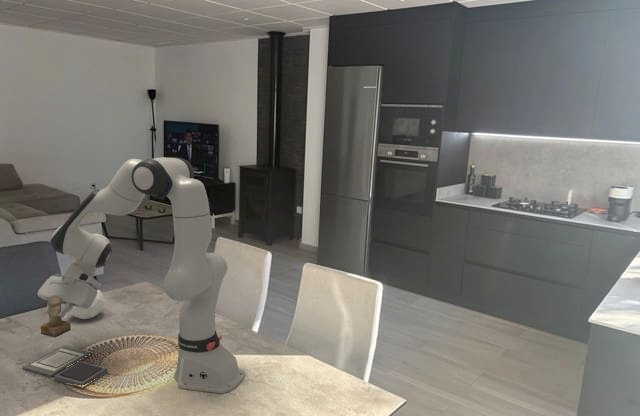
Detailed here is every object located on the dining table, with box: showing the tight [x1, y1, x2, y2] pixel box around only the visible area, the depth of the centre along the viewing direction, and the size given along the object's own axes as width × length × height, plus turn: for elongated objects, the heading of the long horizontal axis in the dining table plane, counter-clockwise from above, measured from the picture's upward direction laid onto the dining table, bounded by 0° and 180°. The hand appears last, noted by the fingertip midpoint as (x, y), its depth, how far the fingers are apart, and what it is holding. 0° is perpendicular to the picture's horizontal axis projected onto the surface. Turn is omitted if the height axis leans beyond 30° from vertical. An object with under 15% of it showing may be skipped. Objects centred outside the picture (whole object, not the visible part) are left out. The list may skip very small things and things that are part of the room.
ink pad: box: [53, 360, 108, 386], centre depth 147 cm, size 11×10×2 cm
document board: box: [22, 345, 92, 378], centre depth 155 cm, size 12×16×1 cm
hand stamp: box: [40, 295, 72, 338], centre depth 152 cm, size 6×6×13 cm
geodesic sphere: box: [69, 289, 106, 320], centre depth 189 cm, size 14×14×14 cm
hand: (53, 315), depth 152 cm, fingers closed on hand stamp, 4 cm apart
